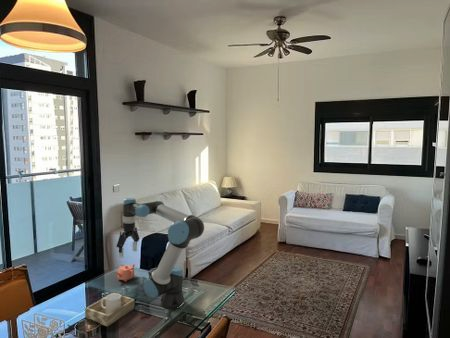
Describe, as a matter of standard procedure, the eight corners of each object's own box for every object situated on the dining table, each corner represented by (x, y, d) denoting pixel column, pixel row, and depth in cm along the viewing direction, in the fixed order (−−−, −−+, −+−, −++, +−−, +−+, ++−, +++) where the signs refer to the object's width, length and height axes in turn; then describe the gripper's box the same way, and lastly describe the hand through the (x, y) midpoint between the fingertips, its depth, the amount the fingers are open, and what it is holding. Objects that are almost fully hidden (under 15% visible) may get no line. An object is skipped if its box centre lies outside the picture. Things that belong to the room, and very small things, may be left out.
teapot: (132, 283, 232) (133, 269, 231) (115, 283, 230) (116, 269, 229) (135, 275, 246) (135, 262, 245) (119, 275, 244) (119, 262, 243)
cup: (115, 317, 185) (116, 300, 184) (96, 314, 187) (97, 298, 186) (122, 310, 193) (123, 294, 193) (104, 307, 195) (104, 291, 195)
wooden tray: (134, 308, 197) (134, 299, 197) (107, 326, 177) (108, 316, 177) (112, 301, 204) (113, 292, 204) (85, 318, 184) (85, 308, 184)
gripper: (136, 217, 222) (135, 247, 223) (110, 225, 199) (110, 259, 200) (145, 219, 219) (144, 249, 221) (120, 227, 196) (119, 261, 198)
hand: (128, 254), depth 211 cm, fingers open, 13 cm apart
